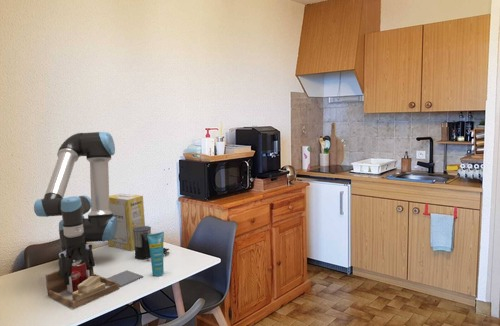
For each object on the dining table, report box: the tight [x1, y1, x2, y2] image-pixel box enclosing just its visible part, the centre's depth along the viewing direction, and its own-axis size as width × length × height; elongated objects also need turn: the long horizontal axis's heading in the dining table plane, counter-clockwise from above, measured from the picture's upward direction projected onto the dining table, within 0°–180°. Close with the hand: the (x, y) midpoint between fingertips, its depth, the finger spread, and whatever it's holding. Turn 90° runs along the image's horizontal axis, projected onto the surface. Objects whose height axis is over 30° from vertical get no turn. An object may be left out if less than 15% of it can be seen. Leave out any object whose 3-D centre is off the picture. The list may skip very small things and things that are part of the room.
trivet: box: [106, 270, 144, 288], centre depth 174 cm, size 12×12×1 cm
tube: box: [147, 231, 165, 277], centre depth 177 cm, size 7×5×19 cm, turn 123°
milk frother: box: [133, 225, 170, 260], centre depth 201 cm, size 14×16×15 cm
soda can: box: [69, 260, 88, 294], centre depth 163 cm, size 7×7×12 cm
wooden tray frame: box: [45, 260, 121, 310], centre depth 162 cm, size 20×20×9 cm
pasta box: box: [108, 193, 146, 252], centre depth 217 cm, size 18×10×28 cm, turn 60°
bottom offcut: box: [71, 282, 107, 301], centre depth 159 cm, size 5×12×4 cm, turn 149°
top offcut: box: [78, 275, 101, 293], centre depth 159 cm, size 4×9×3 cm, turn 168°
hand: (79, 287), depth 164 cm, fingers closed on soda can, 7 cm apart
